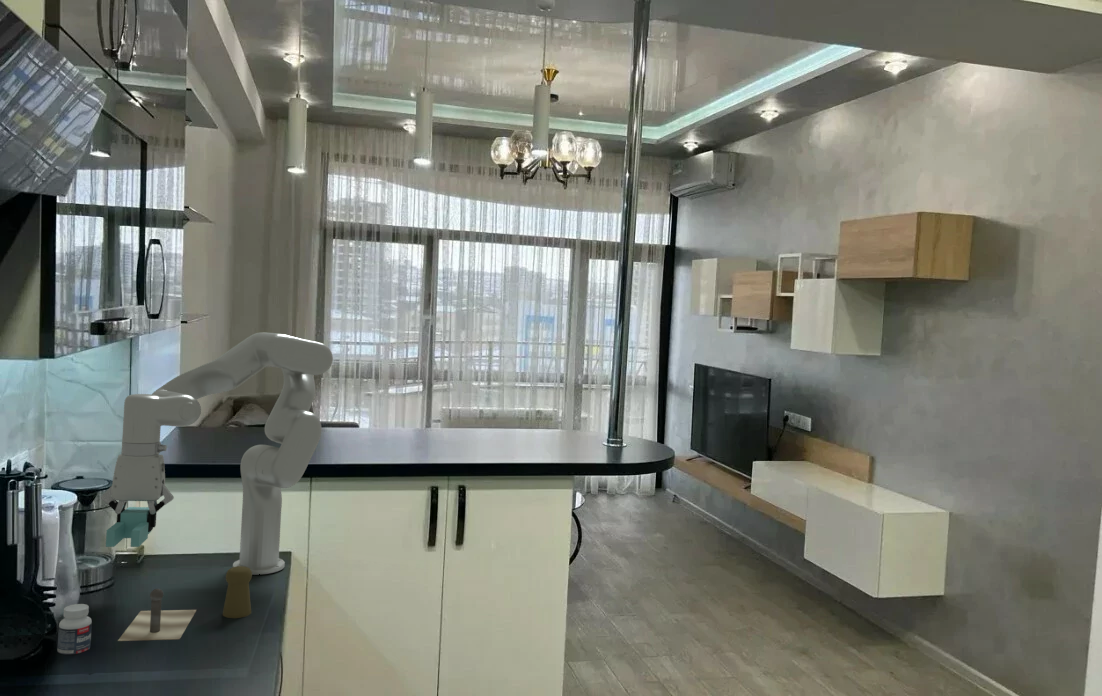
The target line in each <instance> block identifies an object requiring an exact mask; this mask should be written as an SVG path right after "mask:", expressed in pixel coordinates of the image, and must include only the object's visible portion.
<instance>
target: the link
mask: <svg viewBox="0 0 1102 696" xmlns="http://www.w3.org/2000/svg"><path fill="white" fill-rule="evenodd" d="M148 514H149V507H148V506H147V507H146V506H143V507H142V506H129V507H127V508H125V510H124V511H123V512H122V513H121V519H120V522H117V521H116V522H115V523H114V524H113V525H112V526H111V527H109V528H108V529H106V535H105V547H106V548H114V547H115V546H117V545H118V544H119V543H120V542H122V541H123V539H130V547H131V548H139V547H140V546H142V544H143V543H144V542H146V541H147V540H148V538H149V535H150V533H151V532H152V530H151V531H150V532H148V524H149V522H147V515H148Z"/></svg>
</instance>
